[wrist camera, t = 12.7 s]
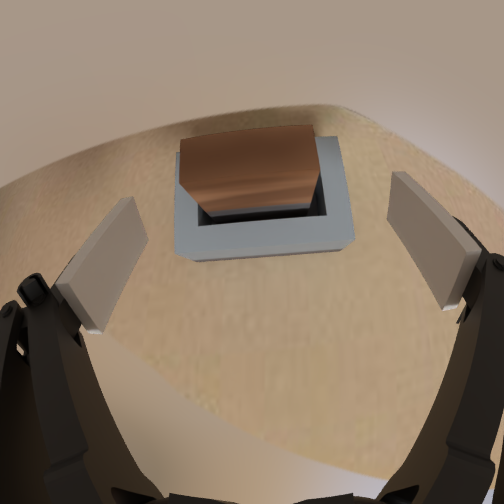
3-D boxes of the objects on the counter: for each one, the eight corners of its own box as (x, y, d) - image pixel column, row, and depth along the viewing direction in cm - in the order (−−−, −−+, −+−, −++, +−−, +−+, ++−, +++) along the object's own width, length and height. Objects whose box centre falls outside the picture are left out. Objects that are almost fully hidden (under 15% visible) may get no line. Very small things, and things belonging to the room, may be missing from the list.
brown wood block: (305, 219, 25) (320, 168, 15) (219, 226, 26) (178, 183, 15) (302, 189, 26) (312, 124, 15) (218, 196, 27) (180, 139, 16)
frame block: (339, 251, 26) (355, 239, 20) (196, 262, 28) (174, 253, 22) (327, 165, 28) (337, 136, 22) (195, 178, 29) (176, 152, 23)
